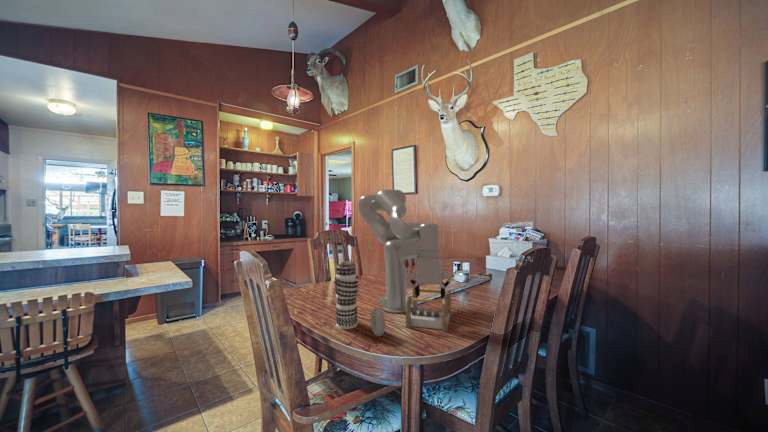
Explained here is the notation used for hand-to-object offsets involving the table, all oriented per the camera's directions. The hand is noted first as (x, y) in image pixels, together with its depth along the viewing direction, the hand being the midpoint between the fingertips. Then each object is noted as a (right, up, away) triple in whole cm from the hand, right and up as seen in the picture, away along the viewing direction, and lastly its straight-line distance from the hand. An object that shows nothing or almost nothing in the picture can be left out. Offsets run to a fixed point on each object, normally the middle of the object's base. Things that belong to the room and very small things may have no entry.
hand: (429, 296), depth 122 cm
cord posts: (0, -11, +1) cm, 11 cm away
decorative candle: (-33, -11, -1) cm, 35 cm away
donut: (-21, -11, -11) cm, 26 cm away
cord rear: (+2, 0, +7) cm, 7 cm away
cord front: (-2, 0, -6) cm, 6 cm away
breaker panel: (0, -11, +1) cm, 11 cm away
